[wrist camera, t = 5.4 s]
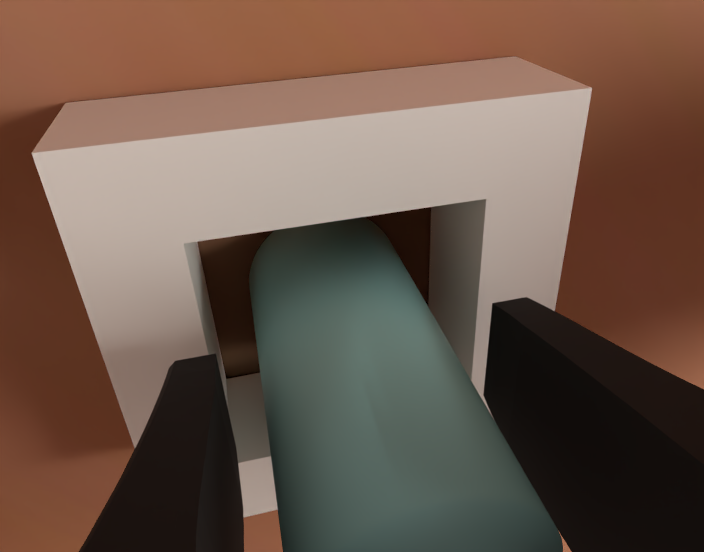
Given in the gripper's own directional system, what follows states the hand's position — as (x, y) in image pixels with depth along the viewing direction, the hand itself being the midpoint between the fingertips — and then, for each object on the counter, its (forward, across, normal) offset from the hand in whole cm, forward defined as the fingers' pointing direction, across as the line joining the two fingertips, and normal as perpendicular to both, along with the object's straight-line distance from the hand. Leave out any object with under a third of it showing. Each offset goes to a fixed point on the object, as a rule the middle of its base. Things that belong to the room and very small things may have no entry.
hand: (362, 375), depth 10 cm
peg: (+3, 0, 0) cm, 3 cm away
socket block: (+3, 0, 0) cm, 3 cm away
